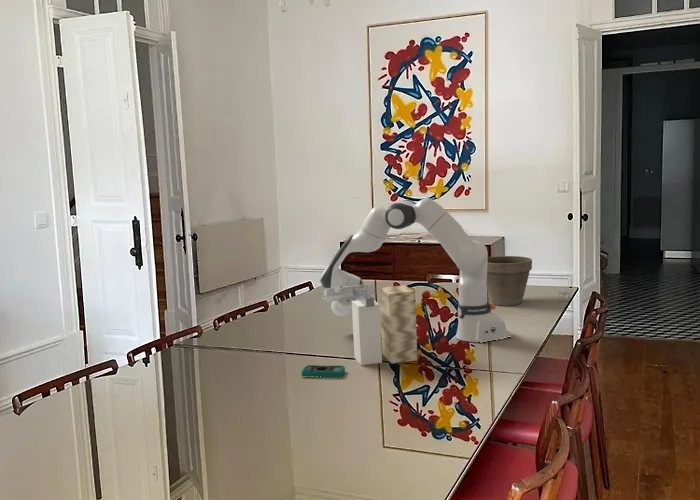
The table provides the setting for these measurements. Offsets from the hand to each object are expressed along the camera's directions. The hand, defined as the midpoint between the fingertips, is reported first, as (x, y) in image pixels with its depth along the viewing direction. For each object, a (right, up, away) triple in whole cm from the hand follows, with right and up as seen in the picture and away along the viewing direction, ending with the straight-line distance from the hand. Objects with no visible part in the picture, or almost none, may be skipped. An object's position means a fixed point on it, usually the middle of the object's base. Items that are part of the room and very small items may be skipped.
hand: (352, 286), depth 276 cm
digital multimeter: (-10, -30, -29) cm, 43 cm away
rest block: (+6, -27, -15) cm, 31 cm away
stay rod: (+4, -5, -15) cm, 17 cm away
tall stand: (+18, -26, -13) cm, 34 cm away
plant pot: (+76, -12, +65) cm, 101 cm away
